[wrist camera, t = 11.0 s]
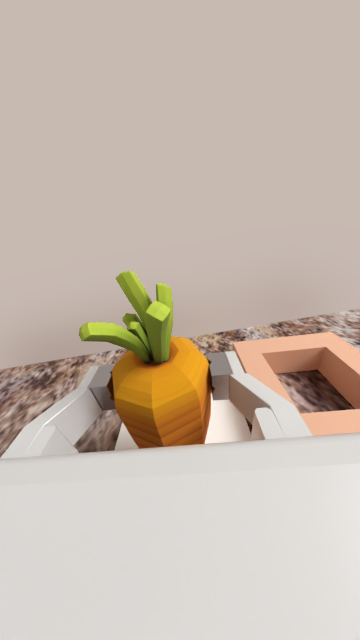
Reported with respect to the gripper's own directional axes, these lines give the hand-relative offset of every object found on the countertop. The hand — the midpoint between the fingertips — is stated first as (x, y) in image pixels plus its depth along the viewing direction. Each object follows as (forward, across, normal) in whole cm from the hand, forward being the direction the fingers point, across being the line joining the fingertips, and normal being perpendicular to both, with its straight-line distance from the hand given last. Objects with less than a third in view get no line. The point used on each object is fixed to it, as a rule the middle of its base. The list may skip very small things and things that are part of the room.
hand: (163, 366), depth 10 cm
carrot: (-1, 0, +10) cm, 10 cm away
